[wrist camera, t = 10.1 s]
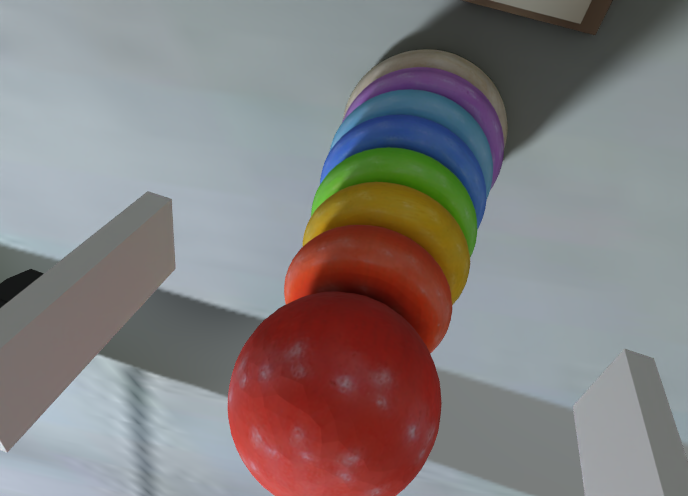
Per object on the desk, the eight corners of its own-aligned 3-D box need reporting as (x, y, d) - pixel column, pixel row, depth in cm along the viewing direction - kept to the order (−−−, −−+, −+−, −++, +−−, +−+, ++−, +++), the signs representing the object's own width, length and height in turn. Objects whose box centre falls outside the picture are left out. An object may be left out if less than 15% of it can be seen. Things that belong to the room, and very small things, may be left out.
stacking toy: (326, 72, 23) (40, 355, 9) (491, 20, 20) (472, 329, 6) (373, 206, 27) (230, 556, 13) (518, 181, 24) (548, 610, 9)
